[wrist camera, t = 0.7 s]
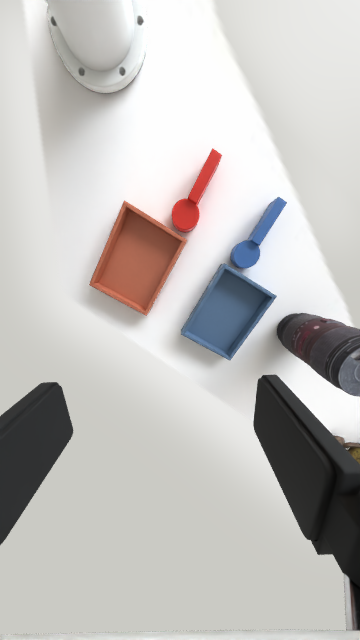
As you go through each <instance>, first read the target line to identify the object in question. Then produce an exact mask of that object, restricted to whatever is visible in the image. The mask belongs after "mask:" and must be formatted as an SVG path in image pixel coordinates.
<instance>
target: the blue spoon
mask: <svg viewBox="0 0 360 640" xmlns="http://www.w3.org/2000/svg"><path fill="white" fill-rule="evenodd" d="M286 203H287V202H285V201H284V200H283V199H281V198H280V197H278V198H277V199H275V200H274V201H273V202H271V203H270V205H269V206H268V208H267V209H266V211H265V213H264V214H263V216H262V217H261V219H260V221H259V222H258V224H257V225H256V227H255V229H254V230H253V232H252V233H251V235H250V237H249V238H248V240H246V241H243V242H241V243H239V244H237V245H236V246H235V247H234V248H233V249H232V252H231V261H232V263H233V265H234V266H236V267H238V268H249V267H251V266H253V265H254V264H255V263H256V262H257V261H258V259H259V256H260V249H259V247H258V245H260V244H261V242H262V241H263V239H264V237H265V236H266V234H267V233H268V231H269V230H270V228H271V227H272V225H273V224H274V222H275V220H276V219H277V217H278V216H279V214H280V213H281V211H282V210H283V208H284V207H285V205H286Z"/></svg>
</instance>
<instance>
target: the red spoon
mask: <svg viewBox="0 0 360 640" xmlns="http://www.w3.org/2000/svg"><path fill="white" fill-rule="evenodd" d="M221 156H222V155H221V154H220V153H218V152H217V151H216V150H214V149H212V151H211V153H210V155H209V157H208V158H207V160H206V162H205V164H204V166H203V168H202V170H201V172H200V174H199V176H198V178H197V180H196V182H195V184H194V186H193V188H192V190H191V192H190V194H189V196H188V199H182V200H179V201H178V202H177V203H176V204H175V205H174V207H173V210H172V220H173V224H174V226H175V227H176V229H177V230H179V231H181V232H190V231H192V230H193V229H194V228H195V227H196V225H197V222H198V220H199V209H198V206H197V205H198V203H199V201H200V199H201V197H202V196H203V194H204V192H205V190H206V188H207V186H208V184H209V182H210V180H211V178H212V176H213V175H214V173H215V171H216V169H217V167H218V165H219V162H220V159H221Z"/></svg>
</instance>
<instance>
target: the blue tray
mask: <svg viewBox="0 0 360 640" xmlns="http://www.w3.org/2000/svg"><path fill="white" fill-rule="evenodd" d="M276 297H277V296H276V295H274V294H272V293H271V292H269V291H268V290H266V289H264V288H263V287H261V286H260V285H258V284H257V283H255V282H253V281H252V280H250V279H249V278H247V277H245V276H244V275H242V274H241V273H239V272H237V271H236V270H234V269H233V268H231V267H229V266H228V265H226V264H221V265H220V267H219V268H218V270H217V272H216V273H215V275H214V276H213V278H212V280H211V281H210V283H209V285H208V286H207V288H206V290H205V291H204V293H203V295H202V296H201V298H200V300H199V301H198V303H197V304H196V306H195V308H194V309H193V311H192V313H191V314H190V316H189V318H188V319H187V321H186V323H185V324H184V326H183V328H182V329H181V335H183V336H185V337H187V338H189V339H191V340H193V341H194V342H196V343H198V344H200V345H202V346H204V347H206V348H207V349H209V350H211V351H213V352H215V353H217V354H219V355H221V356H222V357H224V358H226V359H228V360H231V359H232V357H233V356H234V354H235V353H236V352H237V350H238V349H239V348H240V346H241V345H242V343H243V342H244V341H245V339H246V338H247V337H248V335H249V334H250V332H251V331H252V330H253V328H254V327H255V326H256V324H257V323H258V321H259V320H260V319H261V317H262V316H263V315H264V313H265V312H266V310H267V309H268V308H269V306H270V305H271V304H272V302H273V301H274V299H275V298H276Z"/></svg>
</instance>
